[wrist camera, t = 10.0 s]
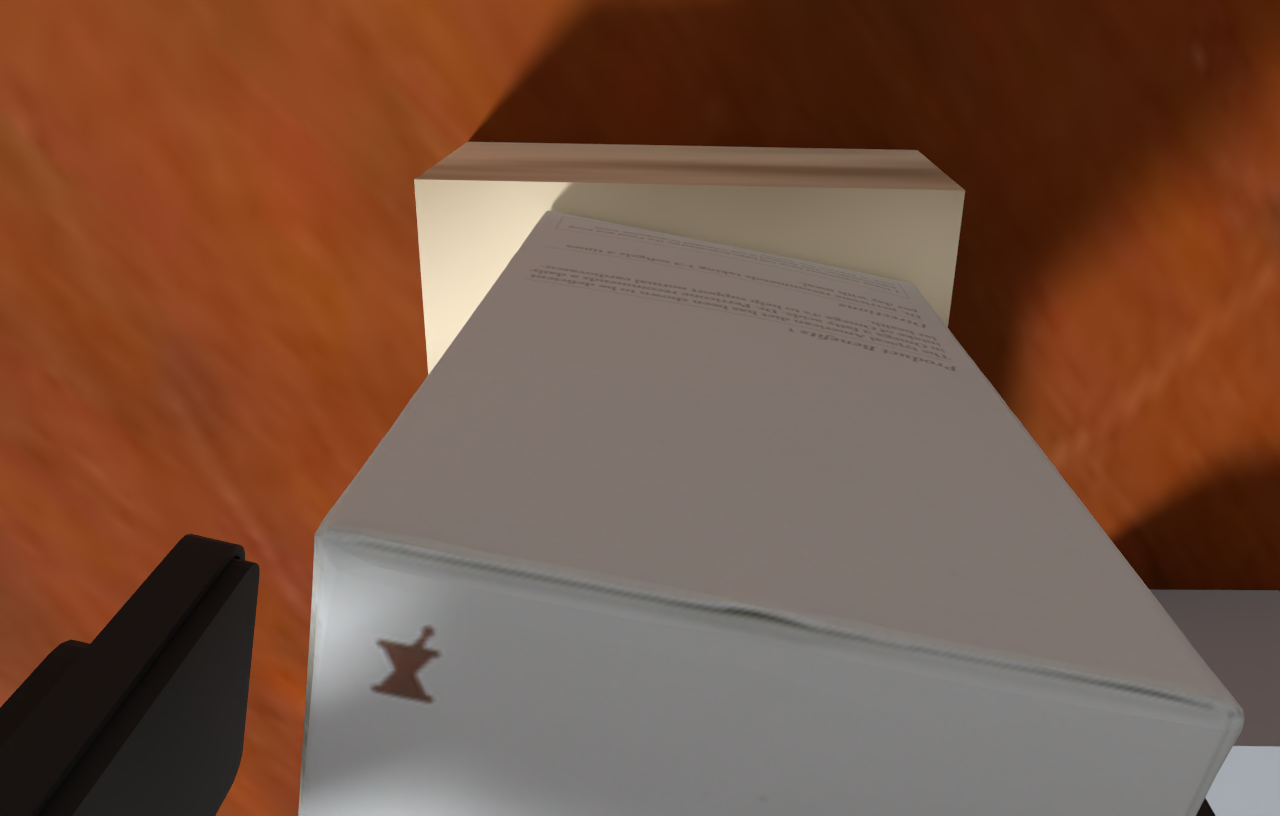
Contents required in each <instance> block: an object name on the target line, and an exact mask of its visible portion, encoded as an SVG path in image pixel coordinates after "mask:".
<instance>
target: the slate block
mask: <svg viewBox="0 0 1280 816" xmlns="http://www.w3.org/2000/svg"><path fill="white" fill-rule="evenodd" d="M1150 591H1151V592H1152V594H1153V595H1154V596H1155V598H1156V599H1157V600H1158V602H1159V603H1160V604H1161V605H1162V607H1163V608H1164V609H1165V611H1166V612H1167V613H1168V614H1169V616H1170V617H1171V618H1172V620H1173V621H1174V622H1175V623H1176V625H1177V626H1178V627H1179V629H1180V630H1181V631H1182V632H1183V634H1184V635H1185V636H1186V638H1187V639H1188V640H1189V642H1190V643H1191V644H1192V646H1193V647H1194V648H1195V650H1196V651H1197V652H1198V654H1199V655H1200V656H1201V658H1202V659H1203V660H1204V662H1205V663H1206V664H1207V665H1208V667H1209V668H1210V669H1211V670H1212V672H1213V673H1214V674H1215V675H1216V676H1217V678H1218V679H1219V680H1220V681H1221V682H1222V684H1223V685H1224V686H1225V687H1226V689H1227V690H1228V691H1229V692H1230V694H1231V695H1232V696H1233V697H1234V699H1235V700H1236V701H1237V703H1238V704H1239V705H1240V707H1241V708H1242V709H1243V713H1244V718H1245V719H1244V724H1243V729H1242V731H1241V733H1240V735H1239V736H1238V738H1237V740H1236V742H1235V743H1234V745H1233V747H1232V749H1231V750H1230V752H1229V754H1228V756H1227V757H1226V759H1225V761H1224V763H1223V765H1222V766H1221V768H1220V770H1219V772H1218V773H1217V775H1216V777H1215V779H1214V781H1213V783H1212V785H1211V787H1210V789H1209V791H1208V793H1207V795H1206V797H1205V798H1206V800H1207V801H1208V803H1209V805H1210V807H1211V808H1212V810H1213V812H1214V814H1215V815H1216V816H1280V591H1279V590H1150Z"/></svg>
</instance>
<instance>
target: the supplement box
mask: <svg viewBox="0 0 1280 816" xmlns="http://www.w3.org/2000/svg"><path fill="white" fill-rule="evenodd" d="M1244 719H1245V718H1244V713H1243V709H1242V708H1241V707H1240V705H1239V704H1238V703H1237V701H1236V700H1235V699H1234V697H1233V696H1232V695H1231V694H1230V692H1229V691H1228V690H1227V689H1226V687H1225V686H1224V685H1223V684H1222V682H1221V681H1220V680H1219V679H1218V678H1217V676H1216V675H1215V674H1214V673H1213V672H1212V670H1211V669H1210V668H1209V667H1208V665H1207V664H1206V663H1205V662H1204V660H1203V659H1202V658H1201V656H1200V655H1199V654H1198V652H1197V651H1196V650H1195V648H1194V647H1193V646H1192V644H1191V643H1190V642H1189V640H1188V639H1187V638H1186V636H1185V635H1184V634H1183V632H1182V631H1181V630H1180V629H1179V627H1178V626H1177V625H1176V623H1175V622H1174V621H1173V620H1172V618H1171V617H1170V616H1169V614H1168V613H1167V612H1166V611H1165V609H1164V608H1163V607H1162V605H1161V604H1160V603H1159V602H1158V600H1157V599H1156V598H1155V596H1154V595H1153V594H1152V592H1151V591H1150V590H1149V589H1148V587H1147V586H1146V585H1145V583H1144V582H1143V581H1142V580H1141V578H1140V577H1139V576H1138V574H1137V573H1136V572H1135V571H1134V569H1133V568H1132V567H1131V565H1130V564H1129V563H1128V561H1127V560H1126V559H1125V558H1124V556H1123V555H1122V554H1121V552H1120V551H1119V550H1118V549H1117V547H1116V546H1115V545H1114V543H1113V542H1112V541H1111V539H1110V538H1109V537H1108V536H1107V534H1106V533H1105V532H1104V530H1103V529H1102V528H1101V526H1100V525H1099V524H1098V523H1097V521H1096V520H1095V519H1094V517H1093V516H1092V515H1091V513H1090V512H1089V511H1088V509H1087V508H1086V507H1085V506H1084V504H1083V503H1082V502H1081V500H1080V499H1079V498H1078V497H1077V495H1076V494H1075V493H1074V491H1073V490H1072V489H1071V488H1070V486H1069V485H1068V484H1067V483H1066V481H1065V480H1064V479H1063V477H1062V476H1061V475H1060V474H1059V472H1058V470H1057V469H1056V467H1055V466H1054V465H1053V464H1052V463H1051V461H1050V460H1049V459H1048V458H1047V456H1046V455H1045V454H1044V452H1043V451H1042V449H1041V448H1040V447H1039V446H1038V444H1037V443H1036V442H1035V440H1034V439H1033V438H1032V437H1031V435H1030V434H1029V433H1028V431H1027V430H1026V429H1025V428H1024V426H1023V425H1022V423H1021V422H1020V421H1019V419H1018V418H1017V417H1016V416H1015V415H1014V413H1013V412H1012V411H1011V410H1010V408H1009V407H1008V406H1007V404H1006V403H1005V401H1004V400H1003V399H1002V398H1001V396H1000V395H999V394H998V392H997V391H996V390H995V388H994V387H993V386H992V384H991V383H990V382H989V380H988V379H987V378H986V377H985V376H984V374H983V373H982V372H981V371H980V369H979V368H978V367H977V365H976V364H975V362H974V361H973V360H972V359H971V357H970V356H969V355H968V354H967V352H966V351H965V350H964V348H963V347H962V346H961V345H960V343H959V342H958V341H957V339H956V338H955V337H954V335H953V334H952V333H951V331H950V330H949V329H948V327H947V326H946V325H945V323H944V322H943V321H942V319H941V318H940V317H939V315H938V314H937V313H936V312H935V311H934V309H933V308H932V307H931V305H930V304H929V302H928V301H927V300H926V299H925V298H924V296H923V295H922V294H921V292H920V291H919V289H918V288H917V287H916V286H915V285H913V284H911V283H907V282H902V281H897V280H892V279H888V278H884V277H879V276H875V275H870V274H866V273H862V272H857V271H853V270H849V269H844V268H839V267H834V266H829V265H824V264H819V263H814V262H809V261H804V260H799V259H794V258H789V257H784V256H779V255H774V254H769V253H764V252H759V251H754V250H749V249H744V248H739V247H733V246H728V245H723V244H718V243H713V242H708V241H703V240H698V239H693V238H688V237H682V236H677V235H672V234H667V233H662V232H657V231H652V230H646V229H641V228H636V227H631V226H626V225H621V224H616V223H610V222H605V221H600V220H595V219H590V218H585V217H580V216H575V215H569V214H565V213H560V212H556V211H546V212H545V213H544V215H543V216H542V217H541V219H540V220H539V221H538V223H537V224H536V225H535V227H534V228H533V230H532V231H531V232H530V234H529V235H528V237H527V238H526V240H525V241H524V242H523V244H522V245H521V247H520V248H519V250H518V251H517V253H516V254H515V255H514V256H513V258H512V259H511V260H510V262H509V263H508V265H507V266H506V268H505V269H504V271H503V272H502V273H501V275H500V276H499V278H498V279H497V280H496V282H495V283H494V285H493V286H492V287H491V289H490V290H489V292H488V293H487V294H486V296H485V297H484V299H483V300H482V301H481V303H480V304H479V305H478V307H477V308H476V310H475V311H474V312H473V314H472V315H471V317H470V318H469V319H468V321H467V322H466V324H465V325H464V326H463V328H462V329H461V331H460V332H459V333H458V335H457V336H456V338H455V339H454V340H453V342H452V343H451V344H450V346H449V347H448V349H447V350H446V351H445V353H444V354H443V356H442V357H441V358H440V360H439V361H438V363H437V364H436V365H435V367H434V368H433V369H432V371H431V372H430V374H429V375H428V376H427V378H426V379H425V380H424V382H423V383H422V385H421V386H420V387H419V389H418V390H417V391H416V393H415V394H414V396H413V397H412V398H411V400H410V401H409V403H408V404H407V405H406V407H405V408H404V410H403V411H402V413H401V414H400V416H399V417H398V419H397V420H396V421H395V423H394V424H393V426H392V427H391V428H390V430H389V431H388V432H387V434H386V435H385V436H384V438H383V439H382V440H381V442H380V443H379V445H378V446H377V447H376V449H375V450H374V452H373V453H372V454H371V456H370V457H369V459H368V460H367V461H366V463H365V464H364V466H363V467H362V468H361V470H360V471H359V472H358V474H357V475H356V476H355V478H354V479H353V480H352V482H351V483H350V484H349V486H348V487H347V488H346V490H345V491H344V492H343V494H342V495H341V496H340V498H339V499H338V500H337V502H336V503H335V504H334V506H333V507H332V508H331V510H330V511H329V512H328V514H327V515H326V516H325V518H324V519H323V521H322V523H321V524H320V526H319V528H318V530H317V531H316V533H315V543H314V567H313V589H312V607H311V624H310V642H309V657H308V672H307V688H306V703H305V719H304V734H303V750H302V766H301V782H300V799H299V815H298V816H1196V815H1197V813H1198V811H1199V809H1200V807H1201V805H1202V803H1203V801H1204V799H1205V797H1206V795H1207V793H1208V791H1209V789H1210V787H1211V785H1212V783H1213V781H1214V779H1215V777H1216V775H1217V773H1218V772H1219V770H1220V768H1221V766H1222V765H1223V763H1224V761H1225V759H1226V757H1227V756H1228V754H1229V752H1230V750H1231V749H1232V747H1233V745H1234V743H1235V742H1236V740H1237V738H1238V736H1239V735H1240V733H1241V731H1242V729H1243V724H1244Z"/></svg>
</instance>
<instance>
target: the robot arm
mask: <svg viewBox="0 0 1280 816" xmlns="http://www.w3.org/2000/svg"><path fill="white" fill-rule="evenodd" d="M258 584H259V565H258V564H257V563H253V562H249V561H245V552H244V548H243V547H242V546H241V545H237V544H233V543H228V542H224V541H220V540H215V539H211V538H206V537H202V536H198V535H193V534H188V535H185V536H184V537H183V538H182V539H181V540H180V541H179V542H178V543H177V544H176V545H175V547H174V548H173V549H172V550H171V551H170V552H169V554H168V555H167V556H166V557H165V558H164V559H163V561H162V562H161V563H160V564H159V565H158V566H157V567H156V569H155V570H154V571H153V572H152V573H151V574H150V576H149V577H148V578H147V579H146V580H145V581H144V583H143V584H142V585H141V586H140V587H139V588H138V589H137V591H136V592H135V593H134V594H133V595H132V596H131V598H130V599H129V600H128V601H127V602H126V603H125V605H124V606H123V607H122V608H121V609H120V610H119V611H118V613H117V614H116V615H115V616H114V617H113V618H112V620H111V621H110V622H109V623H108V624H107V625H106V627H105V628H104V629H103V630H102V631H101V632H100V633H99V635H98V636H97V637H96V638H95V639H94V640H93V642H92V643H91V644H88V643H84V642H80V641H75V640H69V641H66V642H64V643H61V644H60V645H59V646H58V647H57V648H55V649H54V650H53V651H52V652H51V653H50V654H49V655H48V656H47V657H46V658H45V659H44V660H43V661H42V663H41V664H40V665H39V666H38V667H37V668H36V669H35V670H34V671H33V672H32V674H31V675H30V676H29V677H28V678H27V679H26V680H25V681H24V682H23V683H22V685H21V686H20V687H19V688H18V689H17V690H16V691H15V692H14V693H13V694H12V696H11V697H10V698H9V699H8V700H7V701H6V702H5V703H4V704H3V705H2V707H1V708H0V816H215V815H216V813H217V811H218V810H219V808H220V806H221V804H222V802H223V801H224V799H225V797H226V795H227V793H228V792H229V790H230V788H231V786H232V784H233V782H234V779H235V777H236V774H237V771H238V768H239V765H240V761H241V757H242V751H243V741H244V731H245V720H246V710H247V699H248V689H249V678H250V668H251V658H252V647H253V637H254V626H255V616H256V605H257V595H258ZM1196 816H1216V815H1215V814H1214V812H1213V810H1212V808H1211V807H1210V805H1209V803H1208V801H1207V800H1206V798H1205V799H1204V801H1203V803H1202V805H1201V807H1200V809H1199V811H1198V813H1197V815H1196Z"/></svg>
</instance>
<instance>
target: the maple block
mask: <svg viewBox="0 0 1280 816" xmlns="http://www.w3.org/2000/svg"><path fill="white" fill-rule="evenodd" d="M414 183H415V197H416V211H417V224H418V238H419V252H420V266H421V280H422V293H423V307H424V321H425V335H426V348H427V362H428V375H429V374H430V372H431V371H432V369H433V368H434V367H435V365H436V364H437V363H438V361H439V360H440V358H441V357H442V356H443V354H444V353H445V351H446V350H447V349H448V347H449V346H450V344H451V343H452V342H453V340H454V339H455V338H456V336H457V335H458V333H459V332H460V331H461V329H462V328H463V326H464V325H465V324H466V322H467V321H468V319H469V318H470V317H471V315H472V314H473V312H474V311H475V310H476V308H477V307H478V305H479V304H480V303H481V301H482V300H483V299H484V297H485V296H486V294H487V293H488V292H489V290H490V289H491V287H492V286H493V285H494V283H495V282H496V280H497V279H498V278H499V276H500V275H501V273H502V272H503V271H504V269H505V268H506V266H507V265H508V263H509V262H510V260H511V259H512V258H513V256H514V255H515V254H516V253H517V251H518V250H519V248H520V247H521V245H522V244H523V242H524V241H525V240H526V238H527V237H528V235H529V234H530V232H531V231H532V230H533V228H534V227H535V225H536V224H537V223H538V221H539V220H540V219H541V217H542V216H543V215H544V213H545V212H546V211H556V212H560V213H565V214H569V215H575V216H580V217H585V218H590V219H595V220H600V221H605V222H610V223H616V224H621V225H626V226H631V227H636V228H641V229H646V230H652V231H657V232H662V233H667V234H672V235H677V236H682V237H688V238H693V239H698V240H703V241H708V242H713V243H718V244H723V245H728V246H733V247H739V248H744V249H749V250H754V251H759V252H764V253H769V254H774V255H779V256H784V257H789V258H794V259H799V260H804V261H809V262H814V263H819V264H824V265H829V266H834V267H839V268H844V269H849V270H853V271H857V272H862V273H866V274H870V275H875V276H879V277H884V278H888V279H892V280H897V281H902V282H907V283H911V284H913V285H915V286H916V287H917V288H918V289H919V291H920V292H921V294H922V295H923V296H924V298H925V299H926V300H927V301H928V302H929V304H930V305H931V307H932V308H933V309H934V311H935V312H936V313H937V314H938V315H939V317H940V318H941V319H942V321H943V322H944V323H945V325H946V326H947V327H948V322H949V314H950V306H951V298H952V291H953V283H954V275H955V267H956V259H957V251H958V244H959V236H960V228H961V220H962V212H963V204H964V197H965V190H964V189H963V188H962V187H960V186H959V185H958V184H957V183H956V182H955V181H953V180H952V179H951V178H950V177H949V176H947V175H946V174H945V173H944V172H943V171H941V170H940V169H939V168H938V167H937V166H936V165H934V164H933V163H932V162H931V161H930V160H928V159H927V158H926V157H925V156H924V155H923V154H921V153H920V152H919V151H918V150H886V149H832V148H779V147H725V146H672V145H618V144H565V143H511V142H467V143H465V144H464V145H462V146H461V147H459V148H458V149H457V150H455V151H454V152H452V153H451V154H450V155H448V156H447V157H445V158H444V159H442V160H441V161H440V162H438V163H437V164H435V165H434V166H432V167H431V168H430V169H428V170H427V171H425V172H424V173H422V174H421V175H420V176H418V177H417V178H415V179H414Z"/></svg>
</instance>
